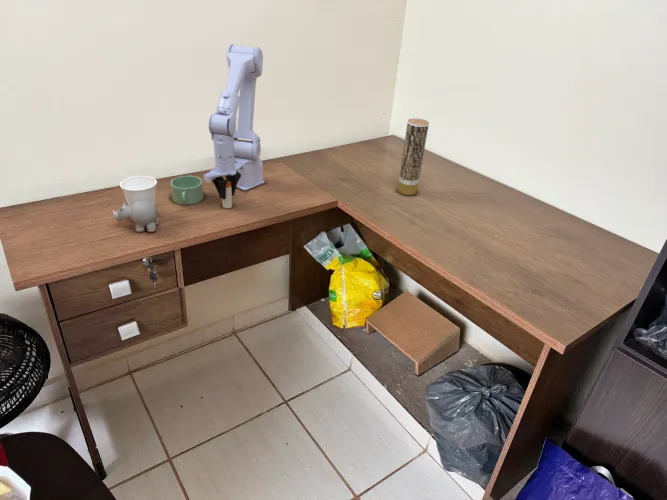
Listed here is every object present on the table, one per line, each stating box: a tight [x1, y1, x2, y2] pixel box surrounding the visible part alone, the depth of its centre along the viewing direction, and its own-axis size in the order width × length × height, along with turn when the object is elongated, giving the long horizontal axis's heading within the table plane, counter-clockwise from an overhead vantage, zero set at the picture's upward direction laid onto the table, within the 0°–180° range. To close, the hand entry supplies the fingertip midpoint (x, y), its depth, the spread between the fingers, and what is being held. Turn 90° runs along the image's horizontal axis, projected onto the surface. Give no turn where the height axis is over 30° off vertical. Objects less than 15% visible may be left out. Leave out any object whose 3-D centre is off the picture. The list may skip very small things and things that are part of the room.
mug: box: [170, 175, 205, 206], centre depth 151 cm, size 12×10×6 cm
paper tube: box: [397, 118, 430, 196], centre depth 161 cm, size 7×7×25 cm
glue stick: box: [221, 181, 233, 209], centre depth 149 cm, size 3×3×8 cm
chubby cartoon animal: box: [112, 200, 160, 233], centre depth 134 cm, size 7×12×8 cm, turn 91°
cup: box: [119, 175, 158, 207], centre depth 139 cm, size 10×10×11 cm
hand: (226, 196), depth 149 cm, fingers closed on glue stick, 3 cm apart
